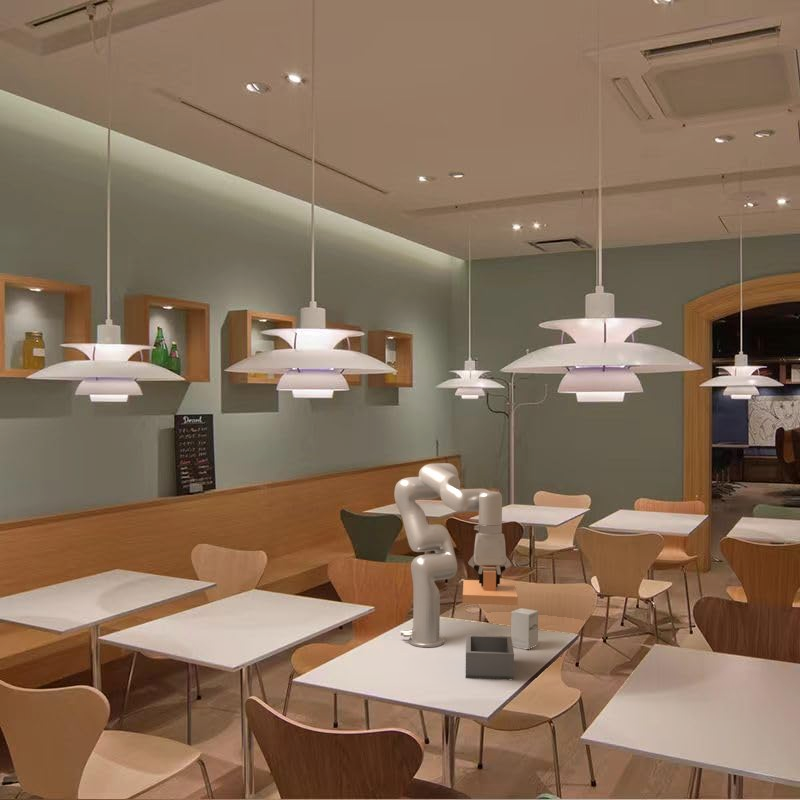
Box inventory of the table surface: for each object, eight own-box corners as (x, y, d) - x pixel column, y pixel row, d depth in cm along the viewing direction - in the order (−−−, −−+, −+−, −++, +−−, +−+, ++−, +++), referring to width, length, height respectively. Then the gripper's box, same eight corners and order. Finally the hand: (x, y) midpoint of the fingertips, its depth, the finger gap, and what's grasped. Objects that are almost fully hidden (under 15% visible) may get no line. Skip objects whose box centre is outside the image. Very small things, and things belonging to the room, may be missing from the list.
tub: (465, 678, 259) (465, 652, 259) (466, 658, 279) (466, 634, 279) (513, 679, 258) (514, 654, 258) (510, 660, 278) (511, 636, 278)
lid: (462, 603, 259) (462, 575, 259) (463, 587, 281) (463, 562, 281) (517, 605, 257) (517, 577, 257) (513, 589, 279) (514, 563, 279)
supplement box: (528, 650, 289) (529, 614, 289) (510, 646, 294) (510, 611, 294) (538, 645, 295) (538, 610, 295) (520, 642, 300) (520, 607, 300)
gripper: (464, 530, 266) (463, 587, 266) (516, 532, 265) (515, 589, 264) (464, 527, 273) (463, 582, 273) (515, 528, 272) (514, 584, 272)
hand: (489, 585), depth 269 cm, fingers closed on lid, 4 cm apart
